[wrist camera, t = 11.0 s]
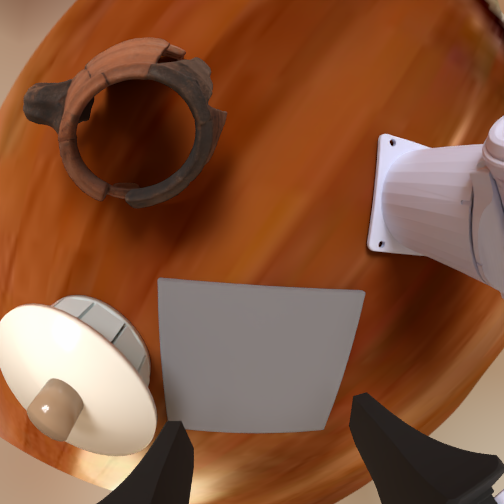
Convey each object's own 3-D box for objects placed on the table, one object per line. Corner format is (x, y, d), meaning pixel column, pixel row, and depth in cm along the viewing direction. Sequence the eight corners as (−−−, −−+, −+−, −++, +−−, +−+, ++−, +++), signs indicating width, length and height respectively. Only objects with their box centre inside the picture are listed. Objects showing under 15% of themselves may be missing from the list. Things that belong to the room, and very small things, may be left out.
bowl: (146, 303, 18) (122, 340, 13) (156, 407, 21) (144, 449, 16) (35, 287, 17) (-2, 311, 13) (59, 384, 20) (37, 417, 15)
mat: (362, 290, 19) (365, 292, 19) (322, 426, 22) (323, 429, 22) (159, 277, 18) (157, 280, 17) (169, 423, 21) (168, 426, 21)
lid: (183, 368, 14) (172, 414, 11) (138, 468, 16) (130, 501, 13) (0, 266, 12) (-37, 285, 8) (7, 396, 14) (-12, 420, 11)
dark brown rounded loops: (229, 49, 15) (258, 55, 9) (198, 168, 21) (207, 235, 15) (60, 39, 11) (-5, 49, 5) (52, 158, 17) (5, 221, 11)
